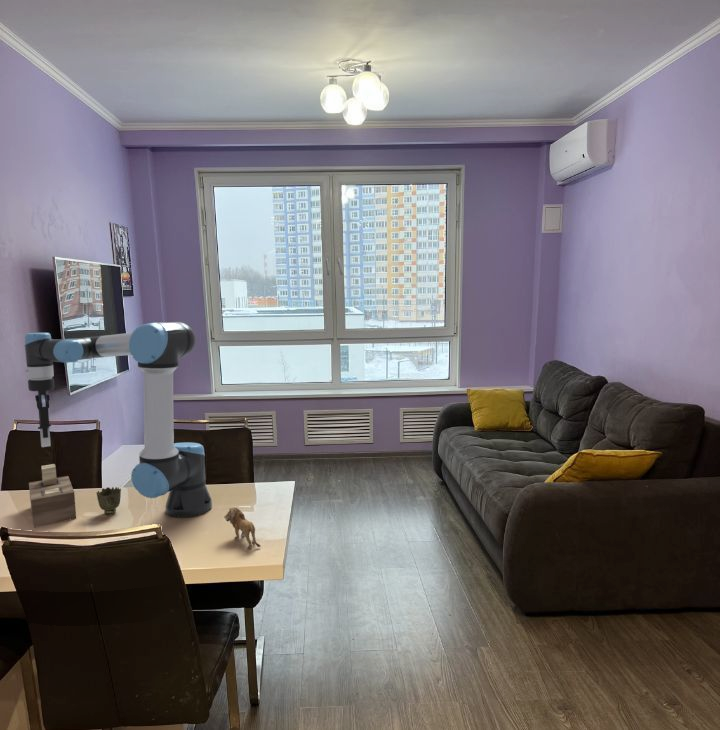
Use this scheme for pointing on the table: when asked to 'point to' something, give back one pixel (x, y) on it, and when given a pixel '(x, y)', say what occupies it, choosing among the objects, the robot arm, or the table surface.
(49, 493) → the wooden box
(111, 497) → the cup
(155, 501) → the table surface
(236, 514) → the lion figurine
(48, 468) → the peg
